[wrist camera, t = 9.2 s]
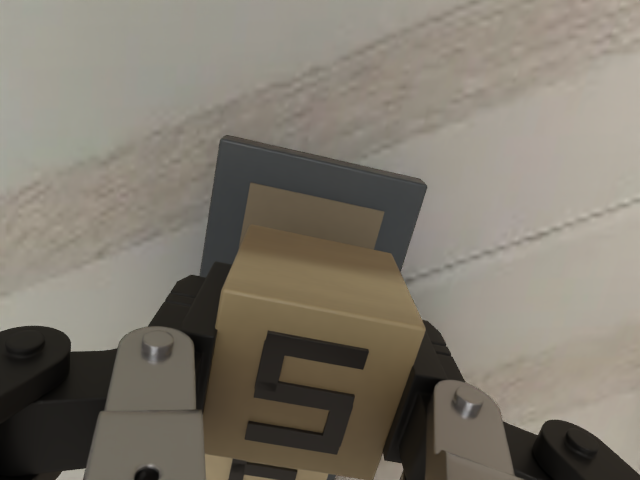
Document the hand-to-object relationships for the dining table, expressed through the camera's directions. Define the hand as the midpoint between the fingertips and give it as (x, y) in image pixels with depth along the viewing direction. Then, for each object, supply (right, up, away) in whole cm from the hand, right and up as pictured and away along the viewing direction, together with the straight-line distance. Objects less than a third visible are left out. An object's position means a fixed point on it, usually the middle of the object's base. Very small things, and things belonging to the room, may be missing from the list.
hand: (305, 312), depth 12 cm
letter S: (0, 0, +1) cm, 1 cm away
